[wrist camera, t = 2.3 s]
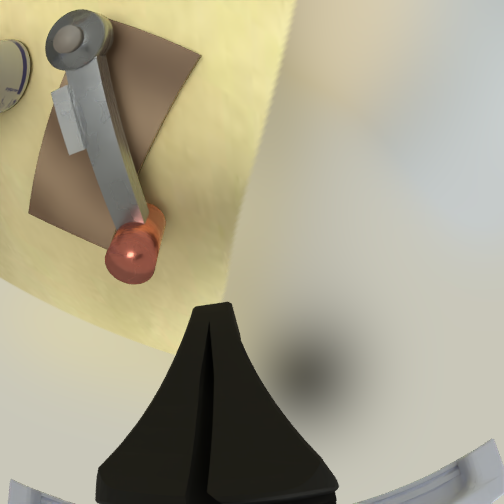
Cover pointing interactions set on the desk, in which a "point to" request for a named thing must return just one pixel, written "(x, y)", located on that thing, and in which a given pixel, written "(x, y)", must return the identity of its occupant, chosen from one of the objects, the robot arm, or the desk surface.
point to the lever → (105, 145)
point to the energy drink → (12, 72)
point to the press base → (133, 120)
